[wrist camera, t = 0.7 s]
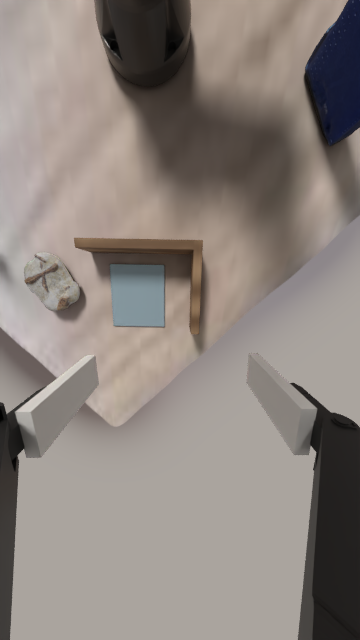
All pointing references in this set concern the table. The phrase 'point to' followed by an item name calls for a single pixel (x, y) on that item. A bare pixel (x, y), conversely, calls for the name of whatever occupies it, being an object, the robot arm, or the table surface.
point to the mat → (137, 294)
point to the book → (337, 75)
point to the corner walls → (157, 248)
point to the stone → (51, 281)
